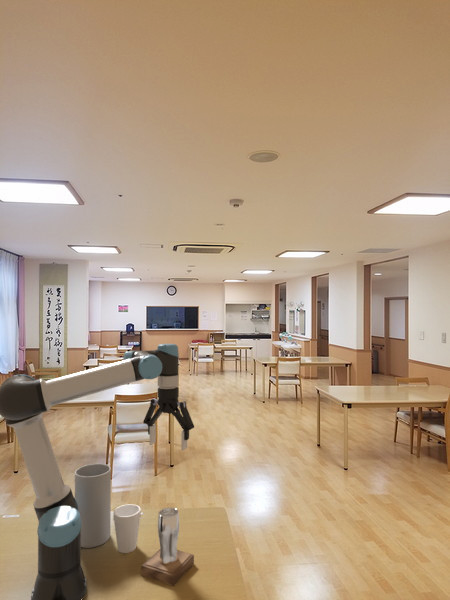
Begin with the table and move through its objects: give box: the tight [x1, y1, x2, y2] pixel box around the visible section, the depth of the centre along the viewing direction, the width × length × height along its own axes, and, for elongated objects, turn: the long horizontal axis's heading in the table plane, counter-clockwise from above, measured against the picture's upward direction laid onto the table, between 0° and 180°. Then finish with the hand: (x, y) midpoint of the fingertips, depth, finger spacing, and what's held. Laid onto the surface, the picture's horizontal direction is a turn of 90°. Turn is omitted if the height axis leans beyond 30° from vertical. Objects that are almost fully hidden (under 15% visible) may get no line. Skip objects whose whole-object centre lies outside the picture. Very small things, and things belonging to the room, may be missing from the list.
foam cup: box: [113, 503, 142, 554], centre depth 144 cm, size 10×9×13 cm
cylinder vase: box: [74, 463, 112, 549], centre depth 150 cm, size 12×12×25 cm
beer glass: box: [157, 506, 180, 565], centre depth 132 cm, size 7×7×15 cm
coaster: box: [141, 548, 195, 587], centre depth 132 cm, size 12×12×3 cm
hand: (168, 446), depth 147 cm, fingers open, 13 cm apart
